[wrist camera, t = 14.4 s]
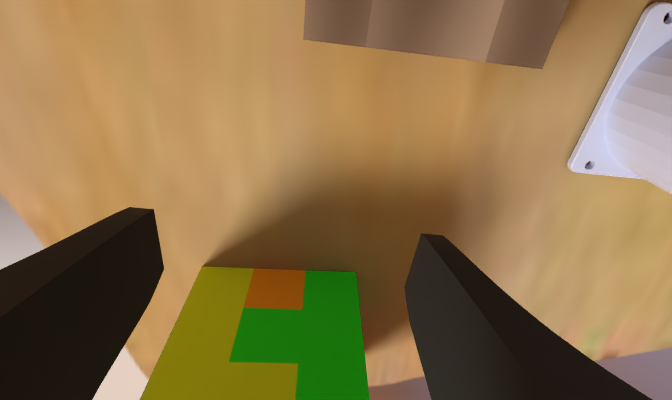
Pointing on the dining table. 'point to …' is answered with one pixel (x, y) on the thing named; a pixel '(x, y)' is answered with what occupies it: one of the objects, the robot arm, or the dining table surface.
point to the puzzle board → (442, 27)
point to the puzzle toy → (265, 338)
